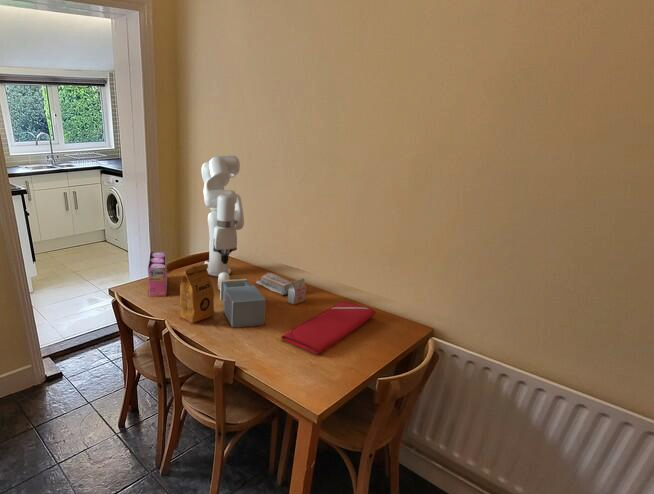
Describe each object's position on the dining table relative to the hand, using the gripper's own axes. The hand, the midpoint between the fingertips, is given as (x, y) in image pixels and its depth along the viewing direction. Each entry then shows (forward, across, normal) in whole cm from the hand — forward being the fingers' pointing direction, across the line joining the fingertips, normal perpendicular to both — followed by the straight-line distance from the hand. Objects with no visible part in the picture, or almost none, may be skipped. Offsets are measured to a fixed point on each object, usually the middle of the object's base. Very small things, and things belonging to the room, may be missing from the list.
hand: (224, 263), depth 185 cm
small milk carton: (+12, -27, +20) cm, 36 cm away
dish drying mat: (+11, -30, +45) cm, 56 cm away
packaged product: (+13, -24, +4) cm, 28 cm away
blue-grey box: (+12, -1, +31) cm, 33 cm away
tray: (+11, -1, +18) cm, 21 cm away
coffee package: (+12, +17, +27) cm, 34 cm away
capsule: (+13, 0, 0) cm, 13 cm away
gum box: (+13, +30, -8) cm, 33 cm away
